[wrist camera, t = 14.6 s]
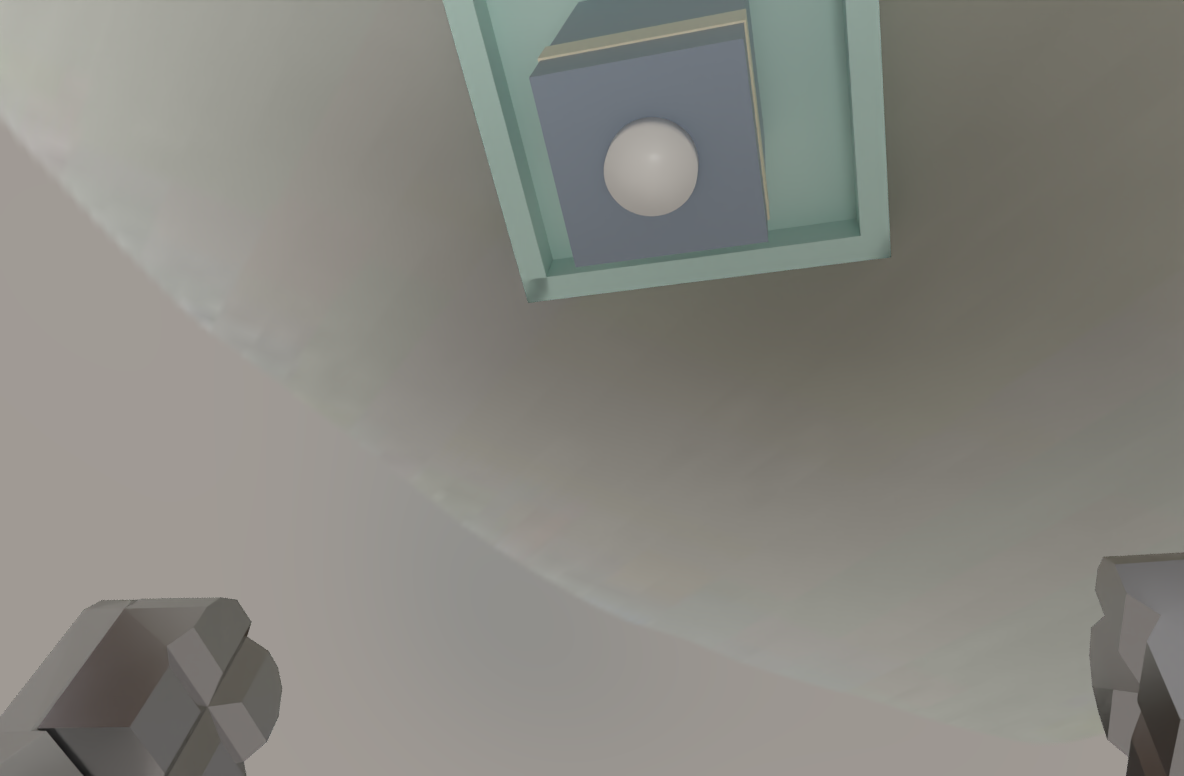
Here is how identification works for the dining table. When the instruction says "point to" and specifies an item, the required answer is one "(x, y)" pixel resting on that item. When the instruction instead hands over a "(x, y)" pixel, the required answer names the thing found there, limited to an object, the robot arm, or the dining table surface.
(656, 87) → the module
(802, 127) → the tray
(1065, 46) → the dining table surface
